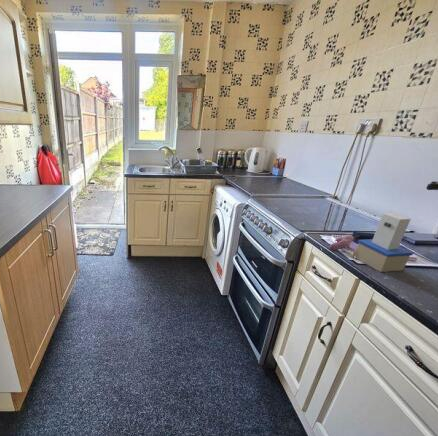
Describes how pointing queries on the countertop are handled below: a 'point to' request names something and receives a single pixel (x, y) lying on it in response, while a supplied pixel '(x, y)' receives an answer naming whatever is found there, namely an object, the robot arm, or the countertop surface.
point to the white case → (390, 231)
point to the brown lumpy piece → (342, 242)
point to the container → (381, 256)
